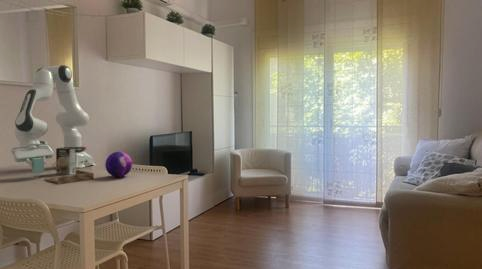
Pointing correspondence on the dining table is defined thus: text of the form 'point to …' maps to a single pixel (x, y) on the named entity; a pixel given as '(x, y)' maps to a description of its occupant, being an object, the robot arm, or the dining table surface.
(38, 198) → the dining table surface
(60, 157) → the coffee box
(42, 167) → the teal block
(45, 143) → the robot arm
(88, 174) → the tray
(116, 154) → the decorative orb
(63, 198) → the dining table surface
